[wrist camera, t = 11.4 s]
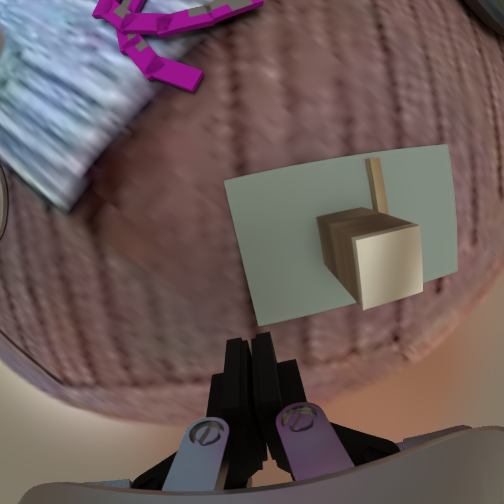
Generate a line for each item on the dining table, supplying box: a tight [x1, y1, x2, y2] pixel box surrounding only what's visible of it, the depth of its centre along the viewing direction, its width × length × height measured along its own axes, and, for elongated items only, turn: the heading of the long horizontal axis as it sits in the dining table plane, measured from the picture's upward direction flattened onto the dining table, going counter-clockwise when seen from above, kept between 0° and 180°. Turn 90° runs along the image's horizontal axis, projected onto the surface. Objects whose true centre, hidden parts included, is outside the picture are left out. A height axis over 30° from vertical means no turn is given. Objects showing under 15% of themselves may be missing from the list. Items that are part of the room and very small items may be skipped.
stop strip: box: [365, 157, 389, 215], centre depth 26 cm, size 1×13×1 cm, turn 13°
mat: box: [224, 144, 458, 326], centre depth 27 cm, size 23×14×1 cm, turn 103°
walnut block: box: [316, 207, 423, 310], centre depth 22 cm, size 4×4×10 cm
